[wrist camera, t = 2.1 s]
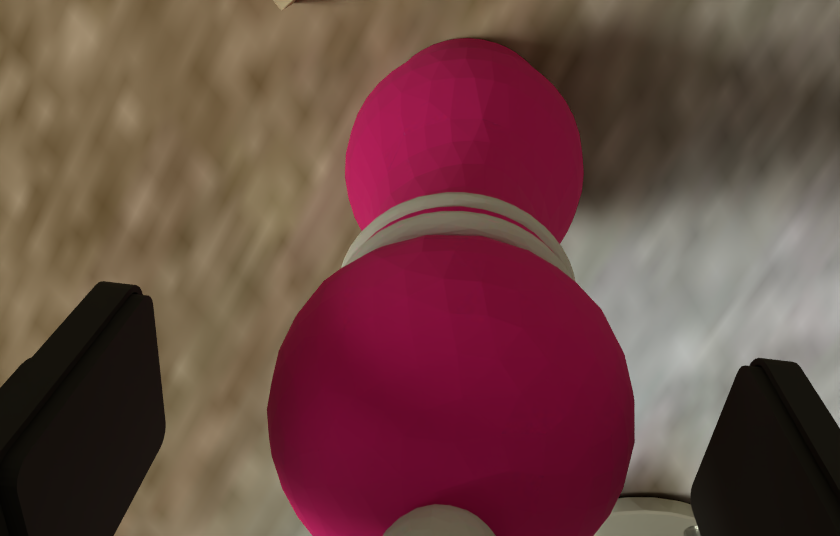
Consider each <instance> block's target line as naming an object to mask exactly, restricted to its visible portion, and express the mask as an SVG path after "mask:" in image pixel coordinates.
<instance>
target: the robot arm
mask: <svg viewBox="0 0 840 536" xmlns="http://www.w3.org/2000/svg"><path fill="white" fill-rule="evenodd" d="M165 427H166V423H165V413H164V403H163V394H162V384H161V375H160V365H159V356H158V346H157V337H156V327H155V318H154V309H153V302H152V299H151V297H150V296H146V295H143V294H142V291H141V289H140V287H139V286H137V285H130V284H122V283H113V282H105V281H103V282H99V283H98V284H96V285H95V286H94V288H93V289H92V290H91V291H90V292H89V293H88V294H87V296H86V297H85V298H84V299H83V300H82V301H81V302H80V303H79V305H78V306H77V307H76V308H75V309H74V310H73V311H72V312H71V314H70V315H69V316H68V317H67V318H66V319H65V320H64V322H63V323H62V324H61V325H60V326H59V327H58V328H57V329H56V331H55V332H54V333H53V334H52V335H51V336H50V337H49V339H48V340H47V341H46V342H45V343H44V344H43V345H42V346H41V348H40V349H39V350H38V351H37V352H36V353H35V354H34V356H33V357H32V358H29V359H27V360H26V361H25V362H24V363H23V364H21V365H20V366H19V367H18V369H17V370H16V371H15V372H14V373H13V374H12V375H11V376H10V378H9V379H8V380H7V381H6V382H5V383H4V384H3V385H2V387H1V388H0V536H114V534H115V532H116V530H117V528H118V526H119V524H120V523H121V521H122V519H123V517H124V515H125V513H126V511H127V509H128V508H129V506H130V504H131V502H132V500H133V498H134V496H135V494H136V492H137V491H138V489H139V487H140V485H141V483H142V481H143V479H144V477H145V475H146V474H147V472H148V470H149V468H150V466H151V464H152V462H153V460H154V459H155V457H156V455H157V453H158V451H159V449H160V447H161V445H162V442H163V439H164V435H165ZM594 536H840V428H839V427H838V425H837V423H836V422H835V420H834V419H833V417H832V416H831V414H830V413H829V411H828V409H827V408H826V406H825V405H824V403H823V402H822V400H821V398H820V397H819V395H818V394H817V392H816V391H815V389H814V388H813V386H812V384H811V383H810V381H809V380H808V378H807V377H806V375H805V374H804V372H803V370H802V369H801V367H800V366H799V365H798V364H797V363H794V362H789V361H781V360H772V359H764V358H757V359H754V360H753V361H752V362H751V364H750V366H742V367H741V368H740V369H739V371H738V372H737V375H736V377H735V380H734V382H733V385H732V387H731V390H730V392H729V395H728V397H727V400H726V402H725V405H724V407H723V410H722V412H721V415H720V417H719V420H718V422H717V425H716V427H715V430H714V432H713V435H712V437H711V440H710V442H709V445H708V447H707V450H706V452H705V455H704V457H703V460H702V462H701V465H700V467H699V470H698V472H697V475H696V477H695V480H694V482H693V485H692V488H691V504H687V503H684V502H681V501H675V500H668V499H661V498H654V497H625V498H618V500H617V502H616V504H615V506H614V508H613V510H612V512H611V514H610V516H609V517H608V518H607V519H606V521H605V522H604V523H603V524H602V526H601V527H600V528H599V530H598V531H597V532H596V533H595V535H594Z"/></svg>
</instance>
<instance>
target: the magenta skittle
mask: <svg viewBox="0 0 840 536" xmlns="http://www.w3.org/2000/svg"><path fill="white" fill-rule="evenodd" d="M583 175H584V171H583V157H582V148H581V141H580V134H579V131H578V128H577V125H576V122H575V119H574V116H573V114H572V112H571V111H570V109H569V107H568V105H567V103H566V101H565V99H564V98H563V97H562V96H561V94H560V93H559V92H558V90H557V89H556V88H555V87H554V85H553V84H552V83H551V82H550V81H548V80H547V79H546V78H545V77H544V76H543V75H542V74H541V73H539V72H538V71H537V70H536V69H534V68H533V67H532V66H531V65H530V64H529V63H528V62H527V61H526V60H524V59H523V58H522V57H521V56H520V55H518V54H517V53H516V52H514V51H512V50H510V49H509V48H507V47H505V46H502V45H500V44H497V43H494V42H490V41H486V40H483V39H472V38H460V39H453V40H447V41H443V42H440V43H437V44H434V45H432V46H430V47H428V48H426V49H424V50H422V51H420V52H419V53H417V54H416V55H414V56H413V57H412V58H410V59H409V60H408V61H407V62H406V63H404V64H403V65H401V66H400V67H398V68H397V69H395V70H394V71H392V72H391V73H390V74H389V75H388V76H387V77H385V78H384V79H383V80H382V81H381V82H380V83H379V84H378V85H377V86H376V87H375V89H374V90H373V91H372V92H371V93H370V95H369V96H368V97H367V98H366V100H365V102H364V104H363V105H362V107H361V109H360V111H359V113H358V115H357V117H356V120H355V123H354V125H353V128H352V131H351V135H350V139H349V144H348V148H347V152H346V166H345V179H346V185H347V191H348V197H349V201H350V204H351V207H352V210H353V213H354V216H355V219H356V221H357V223H358V225H359V227H360V229H361V231H362V232H361V233H360V234H359V236H358V237H357V238H356V240H355V241H354V242H353V243H352V245H351V246H350V248H349V250H348V252H347V254H346V256H345V258H344V261H343V264H342V267H341V269H340V270H338V271H337V272H335V273H334V274H333V275H331V276H330V277H329V278H327V279H326V280H324V281H323V283H322V284H321V285H320V286H319V288H318V289H317V290H316V291H315V293H314V294H313V295H312V296H311V298H310V299H309V300H308V301H307V303H306V304H305V305H304V306H303V308H302V309H301V310H300V311H299V313H298V314H297V316H296V317H295V319H294V321H293V323H292V325H291V327H290V329H289V331H288V333H287V335H286V337H285V339H284V341H283V343H282V345H281V347H280V350H279V353H278V357H277V361H276V365H275V370H274V374H273V379H272V383H271V389H270V395H269V401H268V406H267V416H268V431H269V440H270V447H271V454H272V458H273V461H274V464H275V467H276V470H277V473H278V476H279V480H280V483H281V486H282V489H283V491H284V493H285V494H286V496H287V498H288V500H289V502H290V504H291V505H292V507H293V509H294V511H295V513H296V515H297V516H298V518H299V519H300V520H301V521H302V523H303V524H304V525H305V527H306V528H307V529H308V530H309V532H310V533H311V534H312V536H594V535H595V533H596V532H597V531H598V530H599V528H600V527H601V526H602V524H603V523H604V522H605V521H606V519H607V518H608V517H609V516H610V514H611V512H612V510H613V508H614V506H615V504H616V502H617V500H618V498H619V496H620V494H621V492H622V490H623V487H624V483H625V479H626V475H627V471H628V467H629V463H630V459H631V454H632V450H633V446H634V442H635V439H634V396H633V390H632V386H631V381H630V377H629V372H628V368H627V364H626V359H625V355H624V353H623V351H622V349H621V347H620V345H619V343H618V341H617V339H616V337H615V335H614V333H613V331H612V329H611V327H610V325H609V323H608V321H607V319H606V317H605V315H604V313H603V311H602V310H601V309H600V307H599V306H598V305H597V304H596V303H595V302H594V301H593V300H592V299H591V298H590V297H589V296H588V295H587V294H586V293H585V292H584V290H583V289H582V288H581V287H580V286H579V285H578V284H577V283H576V282H575V277H574V273H573V270H572V267H571V264H570V261H569V259H568V257H567V256H566V254H565V252H564V250H563V248H562V247H561V245H560V243H561V241H562V240H563V238H564V236H565V235H566V233H567V231H568V229H569V227H570V225H571V223H572V220H573V218H574V215H575V213H576V209H577V206H578V203H579V199H580V196H581V192H582V185H583Z"/></svg>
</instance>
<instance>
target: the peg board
mask: <svg viewBox="0 0 840 536" xmlns="http://www.w3.org/2000/svg"><path fill="white" fill-rule="evenodd" d="M273 1H274V2H275V3H276V4H277V6H278V7H279V8H280V9H281V10H284V9H285V8H287V7H288V6H290V5H291V4H293V3H294V2H295V1H296V0H273Z"/></svg>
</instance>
